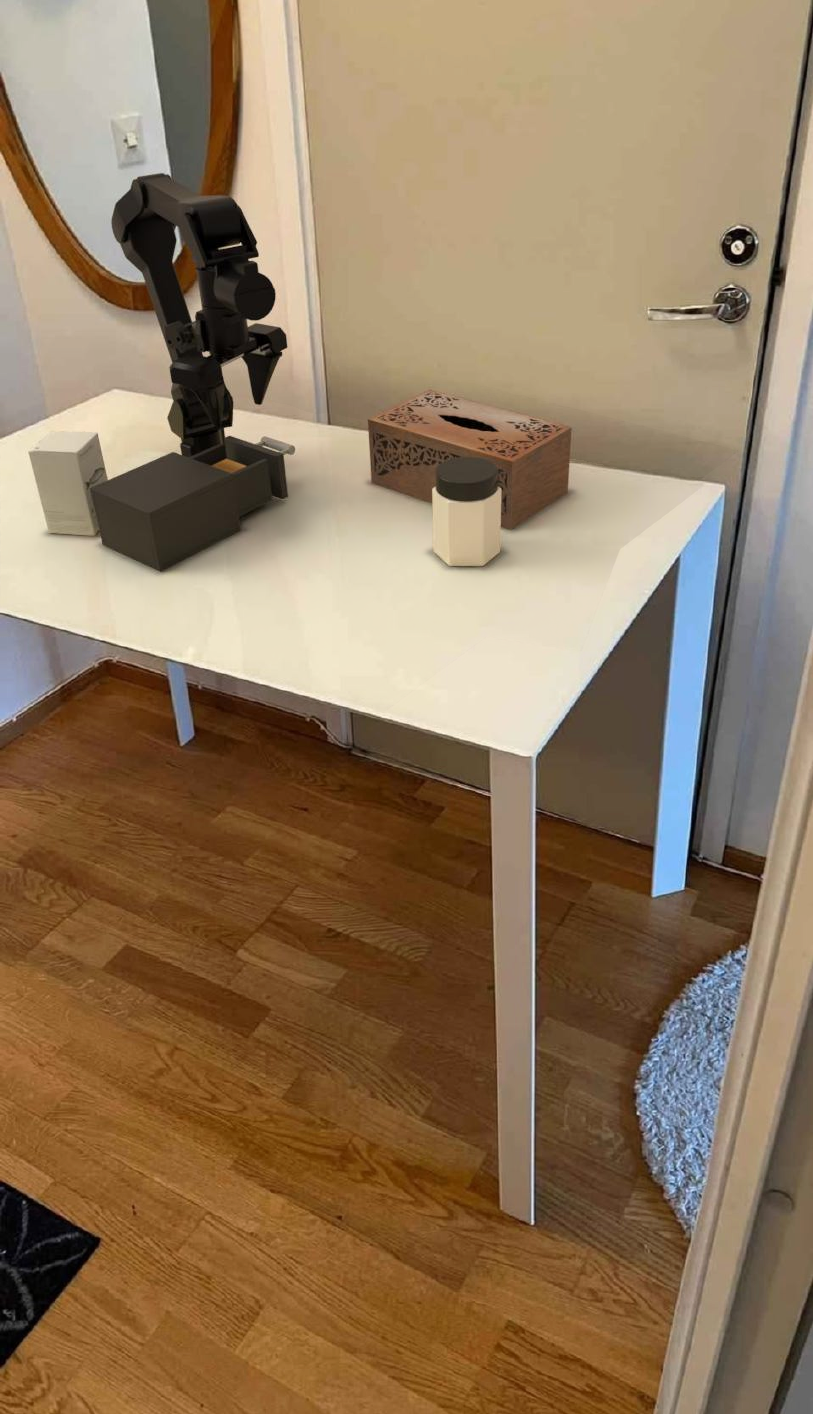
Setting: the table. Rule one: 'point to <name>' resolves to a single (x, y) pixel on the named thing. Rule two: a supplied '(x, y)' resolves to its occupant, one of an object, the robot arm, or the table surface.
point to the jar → (466, 511)
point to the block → (229, 466)
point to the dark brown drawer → (253, 469)
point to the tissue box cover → (470, 450)
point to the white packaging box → (68, 480)
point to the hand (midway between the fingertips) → (238, 415)
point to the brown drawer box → (166, 510)
